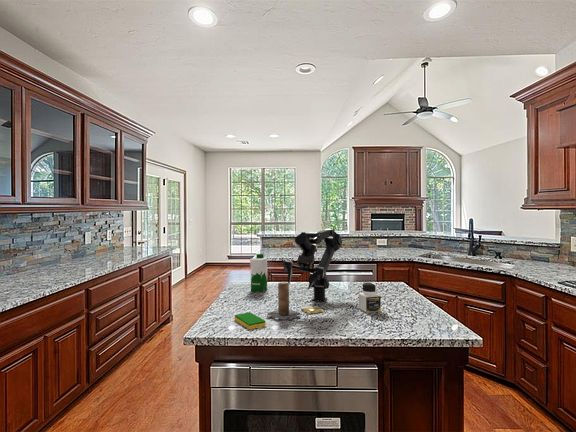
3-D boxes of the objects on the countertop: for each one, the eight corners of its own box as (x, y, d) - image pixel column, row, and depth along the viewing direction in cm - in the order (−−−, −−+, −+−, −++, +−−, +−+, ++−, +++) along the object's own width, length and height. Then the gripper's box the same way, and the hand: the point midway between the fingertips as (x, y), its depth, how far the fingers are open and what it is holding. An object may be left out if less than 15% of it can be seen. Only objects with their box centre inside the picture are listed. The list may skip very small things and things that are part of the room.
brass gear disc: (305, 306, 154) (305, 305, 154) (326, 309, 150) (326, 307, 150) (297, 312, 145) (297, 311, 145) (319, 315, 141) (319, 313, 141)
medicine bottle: (366, 313, 144) (366, 285, 144) (358, 308, 151) (358, 282, 151) (381, 311, 146) (380, 284, 146) (372, 307, 153) (372, 281, 153)
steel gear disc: (275, 309, 151) (275, 307, 151) (305, 312, 145) (305, 311, 145) (260, 318, 137) (260, 316, 137) (292, 323, 132) (292, 321, 132)
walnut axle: (286, 311, 144) (285, 281, 144) (291, 314, 140) (290, 283, 140) (276, 313, 142) (276, 282, 142) (281, 316, 138) (281, 284, 138)
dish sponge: (250, 317, 141) (249, 311, 141) (265, 327, 129) (265, 320, 129) (234, 320, 137) (234, 314, 137) (249, 330, 125) (249, 324, 125)
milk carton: (269, 288, 191) (268, 253, 191) (263, 292, 182) (263, 256, 182) (254, 288, 193) (254, 253, 193) (248, 291, 185) (248, 255, 185)
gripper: (286, 243, 151) (275, 274, 143) (326, 252, 146) (318, 284, 139) (289, 254, 160) (279, 284, 153) (327, 262, 156) (319, 294, 148)
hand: (298, 286), depth 148 cm, fingers open, 9 cm apart
